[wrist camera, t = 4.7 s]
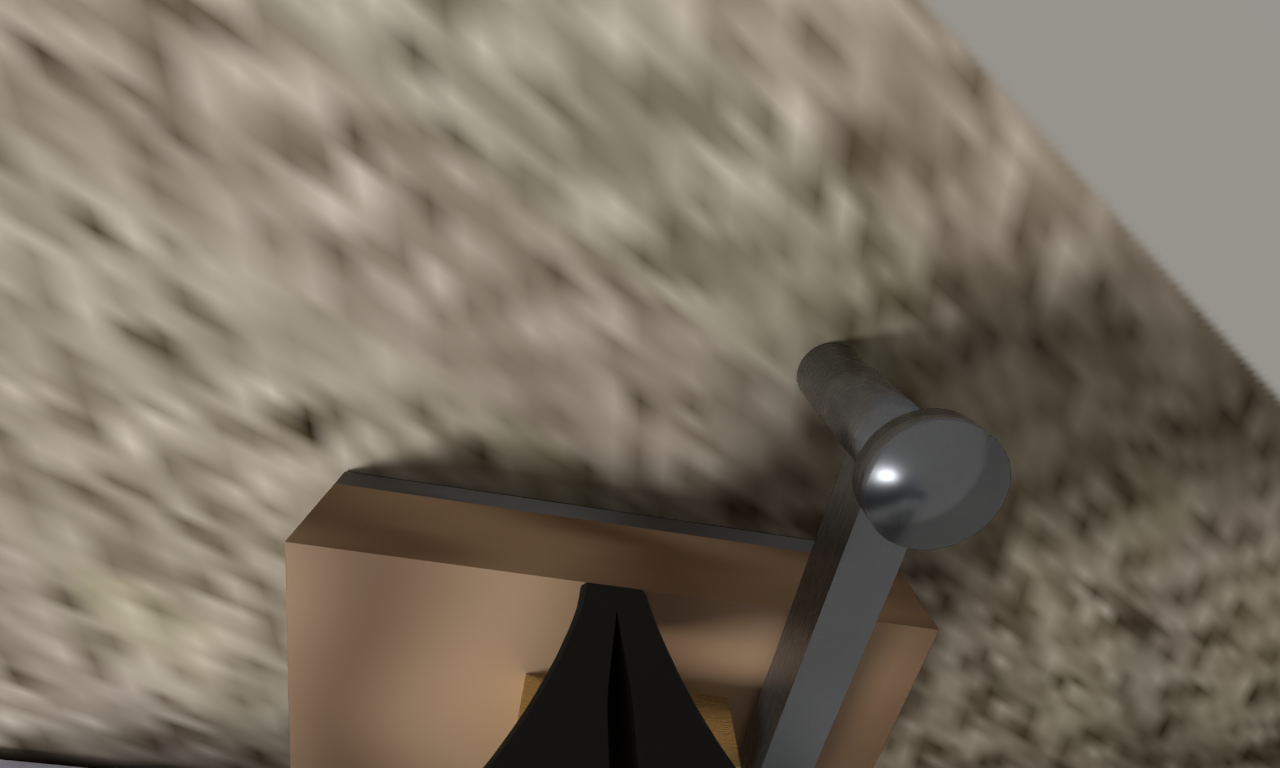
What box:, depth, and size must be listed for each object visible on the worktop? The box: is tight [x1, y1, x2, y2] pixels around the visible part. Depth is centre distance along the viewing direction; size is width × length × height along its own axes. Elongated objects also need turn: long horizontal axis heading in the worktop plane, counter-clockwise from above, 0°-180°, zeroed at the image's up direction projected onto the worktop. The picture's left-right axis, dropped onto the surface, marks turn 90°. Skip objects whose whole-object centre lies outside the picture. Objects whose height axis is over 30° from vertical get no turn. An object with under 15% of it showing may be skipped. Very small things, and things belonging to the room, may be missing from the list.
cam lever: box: [739, 343, 1011, 768], centre depth 14 cm, size 2×12×6 cm, turn 169°
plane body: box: [285, 472, 939, 768], centre depth 16 cm, size 15×8×3 cm, turn 79°
